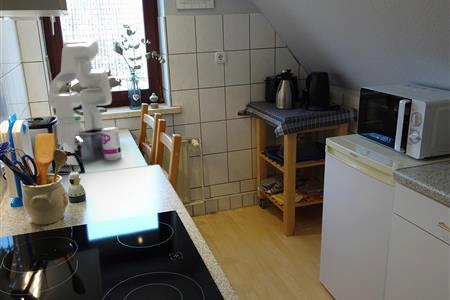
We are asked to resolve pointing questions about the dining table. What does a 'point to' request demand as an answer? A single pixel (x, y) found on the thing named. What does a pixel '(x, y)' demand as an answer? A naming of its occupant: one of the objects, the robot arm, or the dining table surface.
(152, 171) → the dining table surface
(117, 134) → the supplement can
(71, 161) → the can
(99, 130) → the box
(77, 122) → the milk bottle
